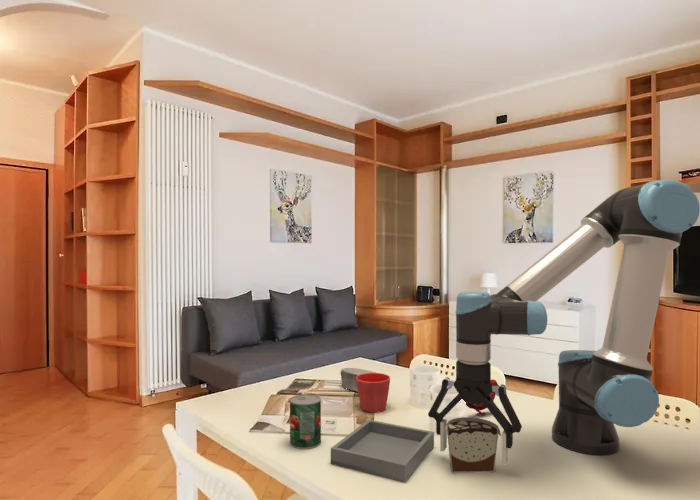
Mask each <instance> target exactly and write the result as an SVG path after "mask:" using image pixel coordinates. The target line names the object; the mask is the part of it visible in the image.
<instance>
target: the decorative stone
mask: <svg viewBox="0 0 700 500" xmlns="http://www.w3.org/2000/svg"><path fill="white" fill-rule="evenodd" d="M339 373H340V376H341V377H340V378H341V379H340V380H341V386H342V387H343V389H345V388H347V389H346V390H348V389H350V390H349V391H351V390H352V391H351V392H353V391H356V392H355V393H357V392H358V389H357V382H356V377H357V376H358V375H360V374H364V373H377V372H376V371H373V370H368V369H361V368H355V367H344V368H342V369H341V370H340V372H339Z"/></svg>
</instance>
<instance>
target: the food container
mask: <svg viewBox="0 0 700 500" xmlns="http://www.w3.org/2000/svg"><path fill="white" fill-rule="evenodd" d="M499 426H500V425H498V424H496V423H494V422H493V421H490V420H487V419H483V418H479V417H478V418H477V417H467V416H465V417H456V418H452V419H450V420H448V421H447V425H446V427H445V432H444V435H445V436H446V432H447V443H448V445H447V446H448V453H449V462H450V464H449V465H450V472H451V473H452V474H461V473H462V474H463V473H464V474H465V473H467V474H468V473H471V474H473V473H474V474H475V473H476V474H477V473H482V474H483V473H495V470H496V469H495V468H496V459H497V450H498V449H497V448H498V440H499V436H501V437H502V433H501V429H500V427H499Z"/></svg>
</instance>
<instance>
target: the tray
mask: <svg viewBox="0 0 700 500" xmlns="http://www.w3.org/2000/svg"><path fill="white" fill-rule="evenodd" d="M434 447H435V432H434V431H429V430H425V429H421V428H420V429H419V428H415V427H410V426H409V427H408V426H403V425H398V424H394V423H388V422H383V421H378V420H377V421H376V420H374V419H373V420H372V419H368V420H365V422H363V423H362V424H361V425H359V426H358V427H356V428H355V429H354V430H353V431H351V432H350V433H349V434H348V435H346V436H345V437H343V438H342V439H341V440H339V441H338V442H337V443H336V444H334V445H333V446H332V447H330V464H331V465H335V466H338V467H342V468H346V469H351V470H354V471H358V472H362V473H367V474H370V475H374V476H379V477H382V478H386V479H391V480H395V481H398V482H399V481H400V482H403V483H406V482H407V481H408V479H409V478H410V477H411V476H412V474H413V473H414V472H415V471H416V470H417V468H418V467H419V466H420V465H421V464H422V462H423V461H424V460H425V458H426V457H427V456H428V454H429V453H430V452H431V451H432V449H433V448H434Z"/></svg>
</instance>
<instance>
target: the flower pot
mask: <svg viewBox="0 0 700 500" xmlns="http://www.w3.org/2000/svg"><path fill="white" fill-rule="evenodd" d="M356 382H357V389H358V393H357V394H358V398H359V399H358V400H359V404H360V405H359V406H360V409H361V410H362V409H363V410H366V411H370V412H369V413H380V412H383V411H385V410H386V408H387V404H388V399H389V391H390V383H391V376H390V375H389V374H386V373H381V372H376V373H364V374H360V375H358V376H357V377H356ZM363 410H362V411H363ZM366 411H365V412H366Z"/></svg>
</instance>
